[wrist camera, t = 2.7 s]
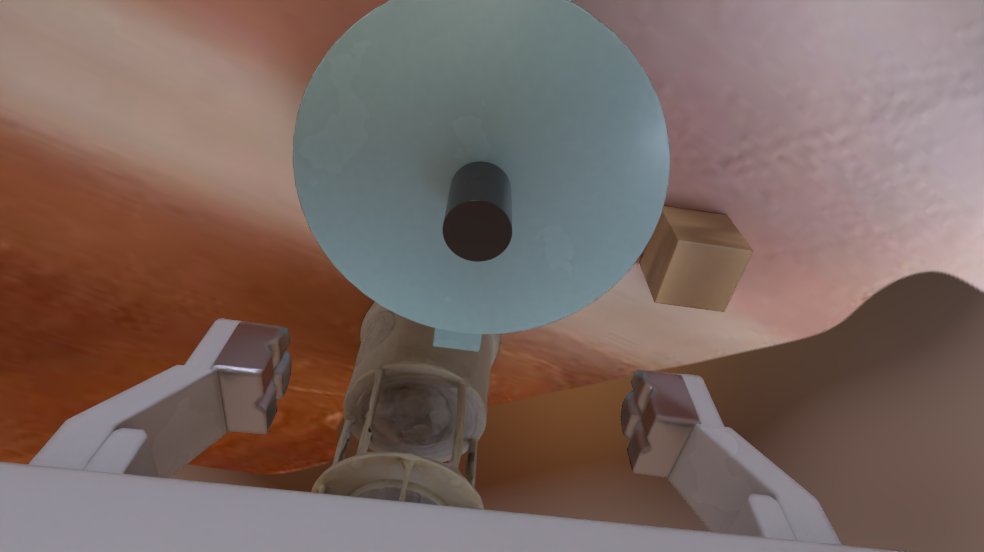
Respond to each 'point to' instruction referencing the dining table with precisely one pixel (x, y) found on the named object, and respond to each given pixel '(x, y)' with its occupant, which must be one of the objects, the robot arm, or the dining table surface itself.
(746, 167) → the dining table surface
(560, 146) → the pot lid
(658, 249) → the block
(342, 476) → the lamp
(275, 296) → the dining table surface
